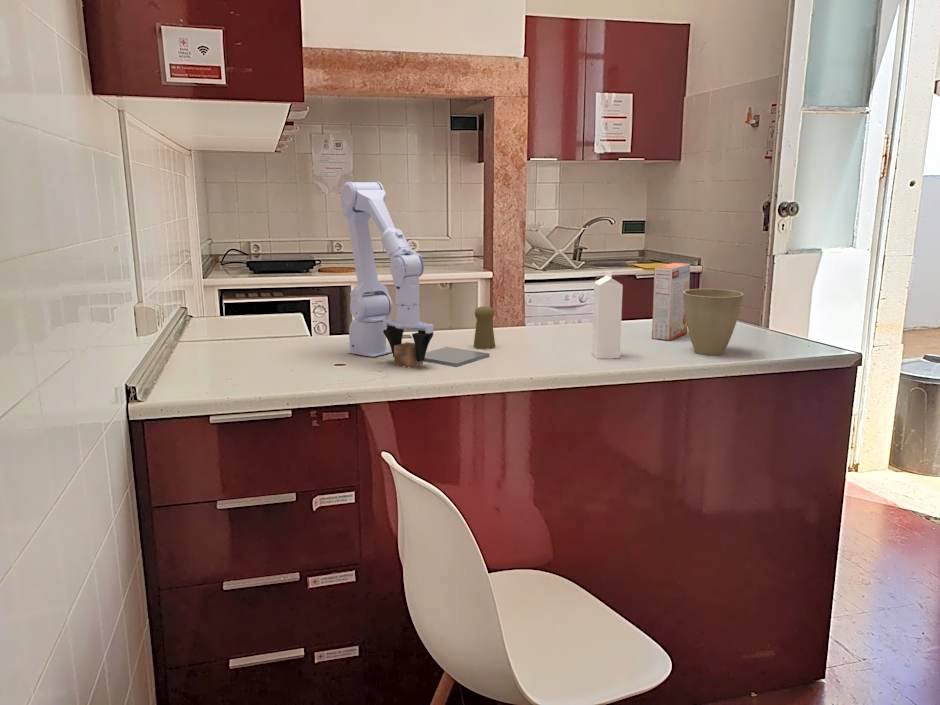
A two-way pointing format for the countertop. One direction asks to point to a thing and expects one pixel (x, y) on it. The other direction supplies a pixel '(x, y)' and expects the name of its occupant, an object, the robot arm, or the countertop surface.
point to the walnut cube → (405, 355)
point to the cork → (484, 328)
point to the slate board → (454, 356)
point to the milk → (607, 317)
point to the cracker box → (670, 300)
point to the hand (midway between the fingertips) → (408, 358)
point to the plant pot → (711, 318)
